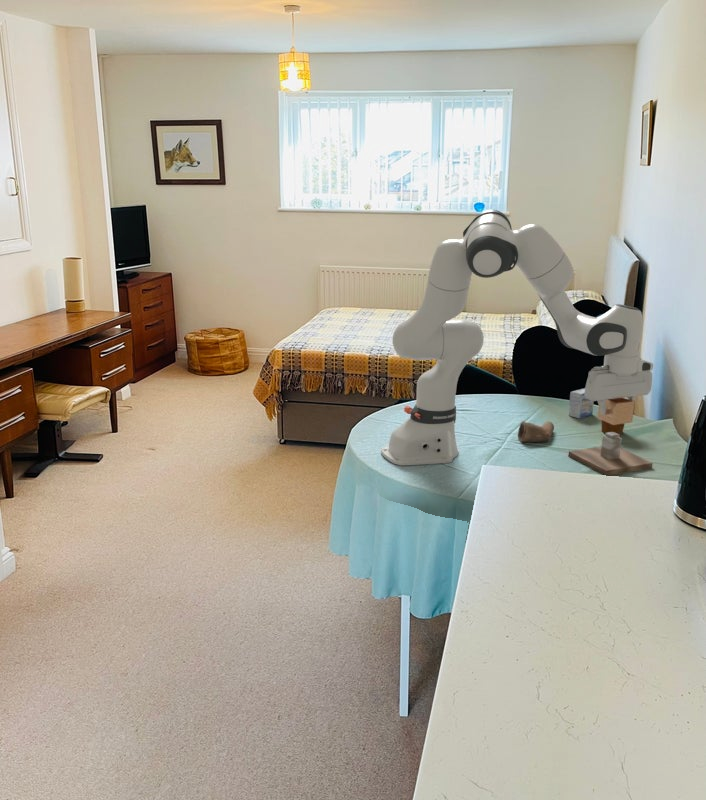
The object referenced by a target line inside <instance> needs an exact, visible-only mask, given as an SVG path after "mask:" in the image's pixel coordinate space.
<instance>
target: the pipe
mask: <svg viewBox="0 0 706 800" xmlns="http://www.w3.org/2000/svg"><path fill="white" fill-rule="evenodd" d="M554 430H555V426H554V424H553V422H551V421H546V422H544V423H543V424H542V425H541V426H539V425H537V424H534V423H531V422H527V421H521V422H520V425H519V428H518V432H517V440H518V442H519V443H542V442H548V441H551V438H552V434H553V433H554Z"/></svg>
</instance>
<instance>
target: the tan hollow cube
mask: <svg viewBox="0 0 706 800" xmlns="http://www.w3.org/2000/svg"><path fill="white" fill-rule="evenodd" d="M635 403H636V401H632V400H629V399H627V398H616V399H607V403H605V406H606V408H608V409H609V411H608V414H606V415H602V414H600V406H599V405H598V409H597V419H598V420H600V421H601V420H603V421H605V422H608V423H610V424H612V425H617V424H624V423H625V424H629V423H630V424H631V423H633V418H634V410H635ZM625 424H624V425H625Z"/></svg>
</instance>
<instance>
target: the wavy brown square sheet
mask: <svg viewBox="0 0 706 800" xmlns="http://www.w3.org/2000/svg"><path fill="white" fill-rule="evenodd" d="M622 439H623V438H622V437H620V434H617V433H615V432H608V433H605V435H602V440H601V446H596V447H595V446H594V447H589V448H582V449H575V450H569V451H568V454H567V455H568V457H569V458H571V459H573V460H574V461H577V462H578V463H581V464H582V465H585V466H586V467H589V468H591V469H592V470H595V472H598V473H599V474H601V475H604V476H605V475H608V476H613V475H619V474H624V473H629V472H630V473H631V472H637V471H642V470H648V469H652V468H653V462H652V461H650V460H648V459H646V458H644V457H643V458H642V457H641V456H638V455H637V454H635V453H631V452H630V451H628V450H626V449H623V448H621V447H622Z"/></svg>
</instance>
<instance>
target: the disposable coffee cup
mask: <svg viewBox="0 0 706 800" xmlns="http://www.w3.org/2000/svg"><path fill="white" fill-rule="evenodd" d="M624 398H627V397H624ZM627 399H628V398H627ZM600 421H601V432H602V433H604V434H606V433H608V432H615V433H617V434H619V435H622V434H623V433H624V432H623V431H624V427H625V424H626V423H624V424H617V425H612V424H610V423H608V422H605V421H603V420H601V419H600Z"/></svg>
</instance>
